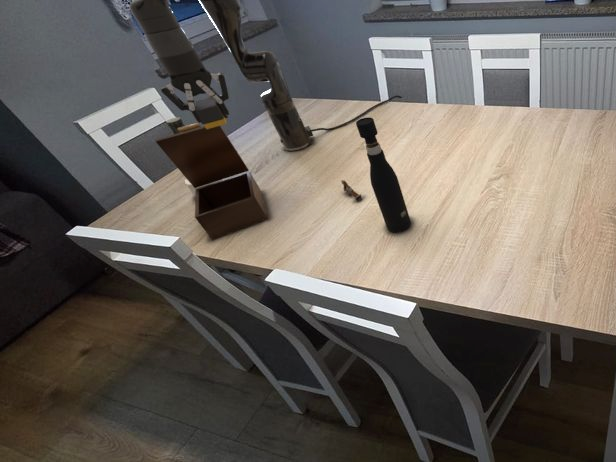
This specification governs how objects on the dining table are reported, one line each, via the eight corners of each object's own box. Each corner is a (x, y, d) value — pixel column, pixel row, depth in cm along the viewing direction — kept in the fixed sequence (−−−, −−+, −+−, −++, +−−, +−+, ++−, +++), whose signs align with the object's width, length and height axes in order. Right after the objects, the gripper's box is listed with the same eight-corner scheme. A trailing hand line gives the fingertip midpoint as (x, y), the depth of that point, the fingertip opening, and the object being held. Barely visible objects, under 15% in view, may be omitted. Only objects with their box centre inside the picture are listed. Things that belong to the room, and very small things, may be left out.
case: (268, 219, 115) (254, 197, 110) (211, 239, 110) (194, 217, 105) (262, 192, 126) (249, 171, 121) (210, 210, 121) (195, 188, 116)
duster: (225, 113, 107) (215, 95, 104) (226, 123, 101) (216, 105, 98) (206, 118, 105) (195, 100, 102) (206, 129, 99) (195, 111, 96)
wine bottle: (388, 219, 110) (352, 116, 90) (411, 216, 110) (381, 113, 90) (385, 234, 105) (347, 129, 85) (410, 231, 105) (376, 125, 85)
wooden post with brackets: (345, 186, 123) (344, 177, 119) (362, 203, 121) (361, 194, 117) (340, 189, 122) (338, 180, 118) (357, 206, 120) (356, 197, 116)
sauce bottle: (207, 179, 136) (171, 125, 123) (192, 178, 137) (155, 125, 125) (221, 168, 141) (187, 115, 128) (206, 168, 142) (172, 115, 129)
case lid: (218, 123, 107) (215, 112, 109) (155, 141, 102) (153, 129, 104) (249, 170, 121) (245, 159, 123) (194, 188, 116) (192, 176, 118)
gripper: (136, 61, 87) (184, 133, 98) (209, 46, 92) (246, 116, 103) (140, 54, 92) (184, 123, 103) (208, 40, 97) (244, 107, 108)
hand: (215, 119), depth 103 cm, fingers closed on duster, 4 cm apart
